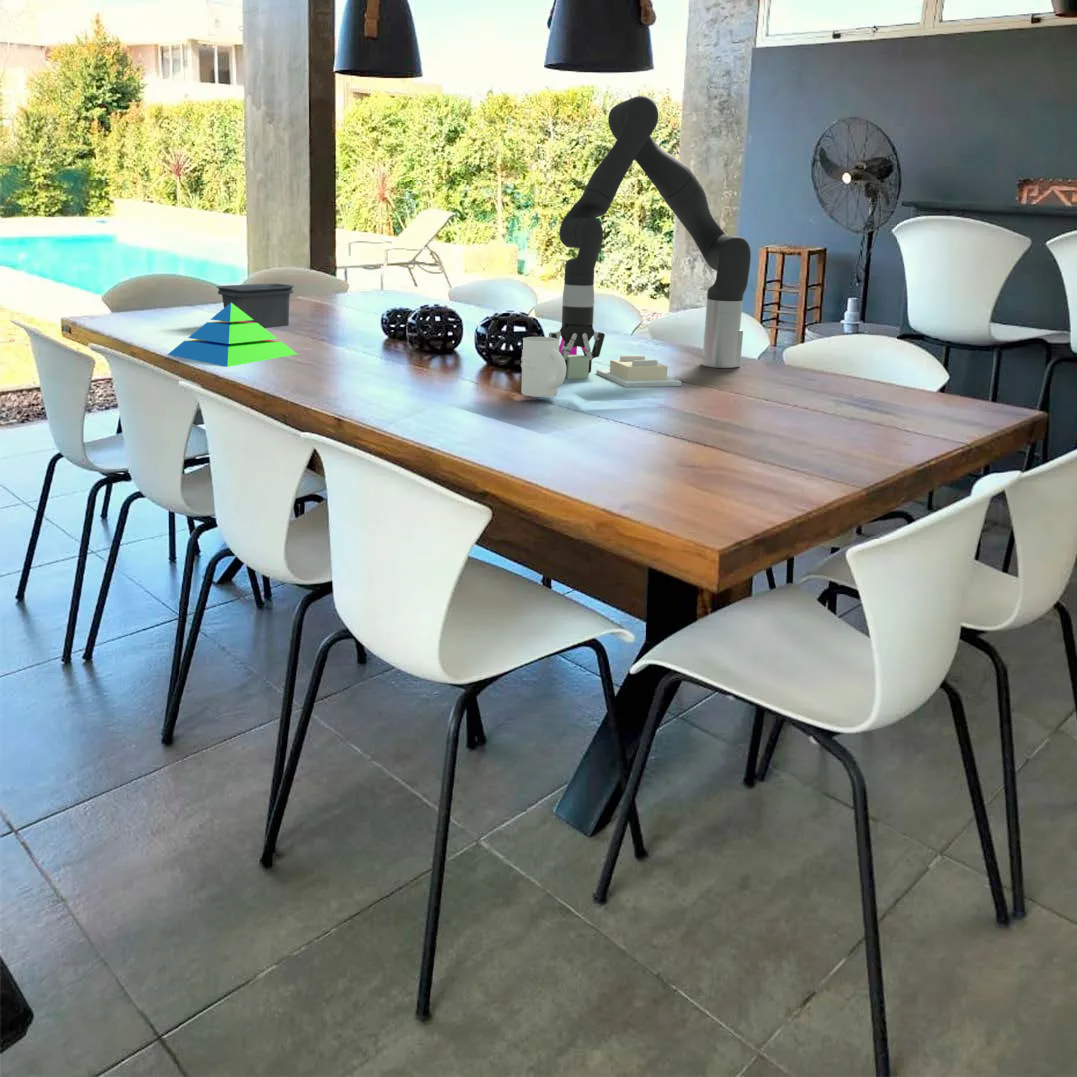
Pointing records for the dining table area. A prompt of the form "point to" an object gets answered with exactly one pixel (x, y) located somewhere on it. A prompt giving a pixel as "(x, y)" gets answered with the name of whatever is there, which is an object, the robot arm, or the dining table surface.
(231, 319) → the pyramid toy
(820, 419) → the dining table surface
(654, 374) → the base
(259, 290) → the storage bin
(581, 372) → the sage cube
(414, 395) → the dining table surface
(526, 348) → the mug
